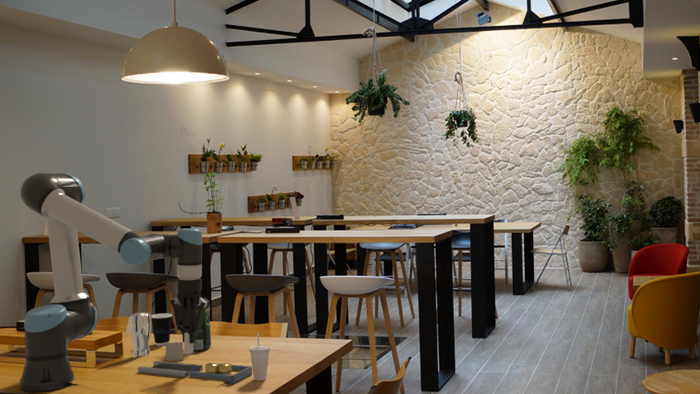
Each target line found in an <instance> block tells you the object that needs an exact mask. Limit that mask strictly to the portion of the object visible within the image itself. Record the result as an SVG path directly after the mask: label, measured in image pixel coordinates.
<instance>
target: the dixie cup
mask: <svg viewBox="0 0 700 394" xmlns="http://www.w3.org/2000/svg"><path fill="white" fill-rule="evenodd" d="M172 317H173V314H172V313H166V312H165V313H164V312H163V313H157V314H156V313H155V314H152V315H150V318H151V326H152V332H153V338H154V339H153V340H154V343H155V345H156V346H161V347H162V346H166V343H170V340H171V339H170V338H171V328H172Z"/></svg>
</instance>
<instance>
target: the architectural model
mask: <svg viewBox="0 0 700 394" xmlns="http://www.w3.org/2000/svg"><path fill="white" fill-rule="evenodd" d="M183 345H184V342H183V341H175V342H169V343H166V345H165V354H164V355H165V362H176V361H177V362H178V361H184V355H185V354H184V347H183Z"/></svg>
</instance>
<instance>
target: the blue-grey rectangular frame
mask: <svg viewBox="0 0 700 394" xmlns="http://www.w3.org/2000/svg"><path fill="white" fill-rule="evenodd" d="M218 364H221V363H218ZM231 371H235V372H236V373H234V374H231V375H225V374H215V373H206V371H204V372H203V371H199V372H195V371H190V376H189V377H190V378H199V379H210V380H217V381H219V380H220V381H223V384H228V385H235V384H236V383H239V382H240V381H242V380H244V379H246V378H248V377H249V376H252V375H253V367H252V365H251V366H249V365H239V364H231ZM237 371H238V372H237Z"/></svg>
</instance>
